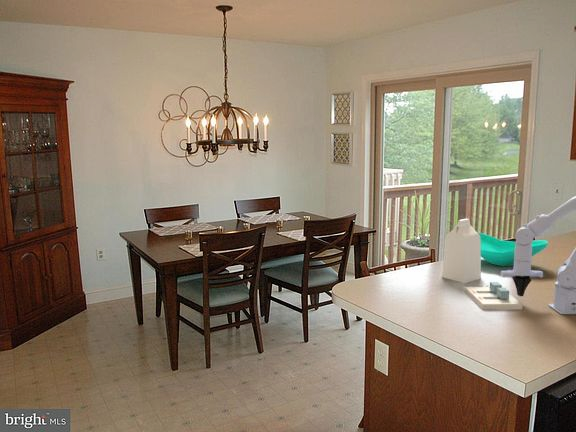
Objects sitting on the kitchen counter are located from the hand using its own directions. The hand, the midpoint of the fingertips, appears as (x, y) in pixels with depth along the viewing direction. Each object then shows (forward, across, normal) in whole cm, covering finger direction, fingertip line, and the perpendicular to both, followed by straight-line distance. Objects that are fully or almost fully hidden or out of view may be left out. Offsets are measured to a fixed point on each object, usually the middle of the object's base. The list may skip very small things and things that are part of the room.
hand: (520, 295), depth 182 cm
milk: (+3, +11, -34) cm, 35 cm away
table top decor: (+3, -15, -56) cm, 58 cm away
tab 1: (+1, +6, -7) cm, 10 cm away
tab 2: (+1, +6, 0) cm, 6 cm away
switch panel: (+3, +9, -4) cm, 10 cm away
